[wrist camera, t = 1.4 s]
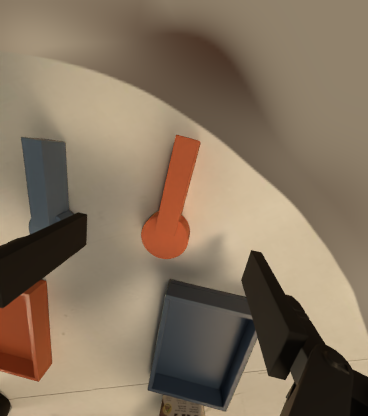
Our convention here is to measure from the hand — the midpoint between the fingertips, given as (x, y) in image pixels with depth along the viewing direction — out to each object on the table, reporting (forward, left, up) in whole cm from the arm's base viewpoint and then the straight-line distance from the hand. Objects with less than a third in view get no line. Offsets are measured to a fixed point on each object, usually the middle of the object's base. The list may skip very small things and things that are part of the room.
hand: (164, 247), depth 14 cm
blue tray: (+17, +6, -6) cm, 19 cm away
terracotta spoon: (-2, 0, -6) cm, 7 cm away
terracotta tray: (+22, -22, -6) cm, 31 cm away
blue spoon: (+1, -14, -6) cm, 15 cm away
